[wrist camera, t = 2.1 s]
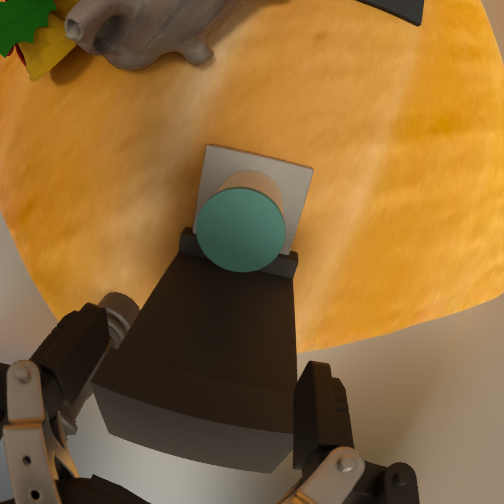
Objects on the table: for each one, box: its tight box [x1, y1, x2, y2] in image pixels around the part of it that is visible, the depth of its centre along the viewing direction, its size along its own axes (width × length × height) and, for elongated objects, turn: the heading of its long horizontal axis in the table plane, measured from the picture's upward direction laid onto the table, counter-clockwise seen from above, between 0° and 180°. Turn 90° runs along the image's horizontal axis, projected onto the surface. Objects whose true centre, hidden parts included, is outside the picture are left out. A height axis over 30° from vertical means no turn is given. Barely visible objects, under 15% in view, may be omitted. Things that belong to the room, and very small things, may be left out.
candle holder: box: [59, 292, 140, 442], centre depth 26 cm, size 6×6×25 cm
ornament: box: [0, 0, 80, 81], centre depth 14 cm, size 21×8×15 cm, turn 15°
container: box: [196, 170, 286, 272], centre depth 24 cm, size 6×6×8 cm
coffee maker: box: [90, 144, 314, 473], centre depth 21 cm, size 17×12×20 cm
